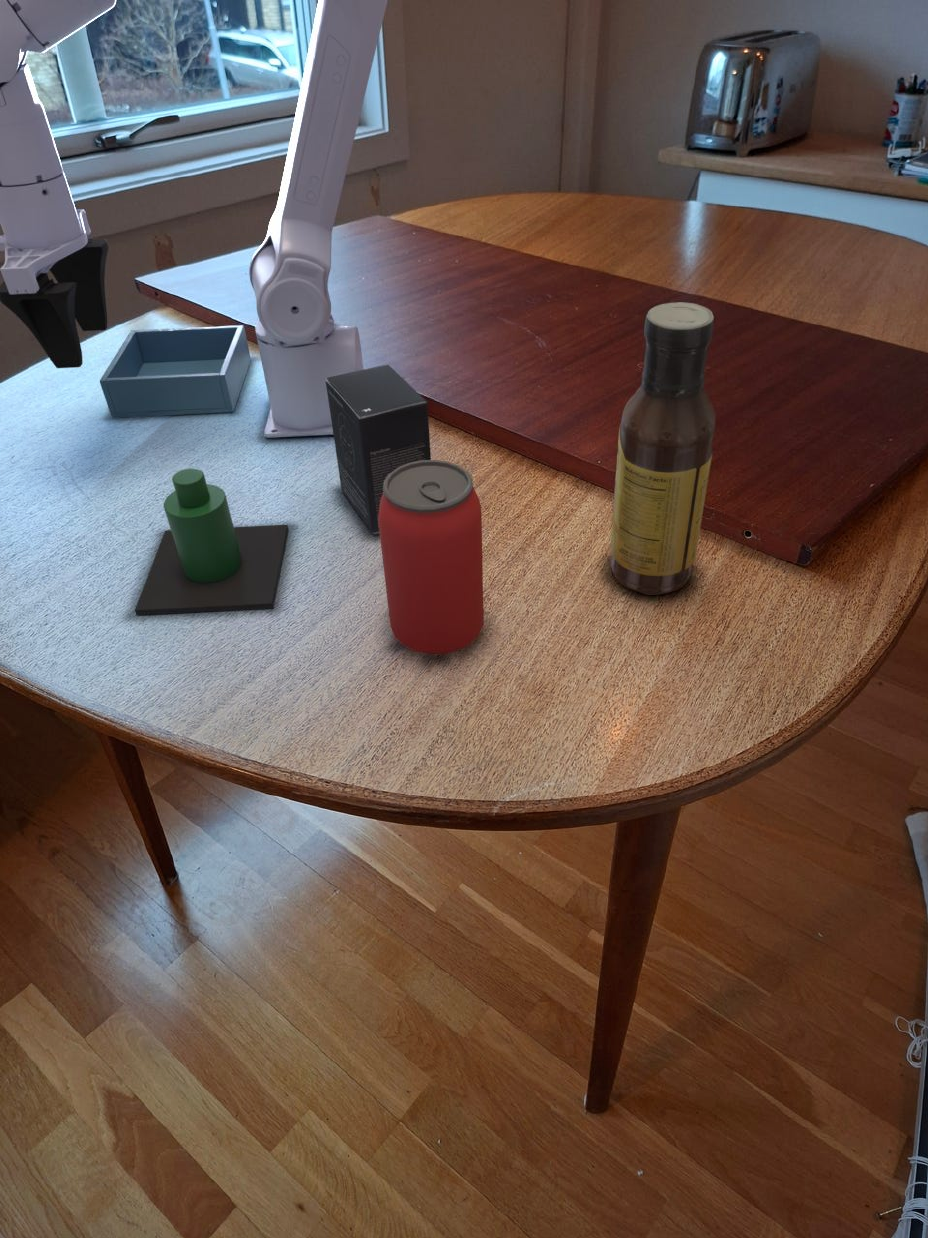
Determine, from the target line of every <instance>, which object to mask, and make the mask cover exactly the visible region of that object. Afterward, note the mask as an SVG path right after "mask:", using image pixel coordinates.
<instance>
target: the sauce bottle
mask: <svg viewBox="0 0 928 1238" xmlns="http://www.w3.org/2000/svg"><path fill="white" fill-rule="evenodd" d="M713 314H714V313H713V312H712V310H710V309H709V308H707V307H705V306H703V305H700V304H698V303H693V302H685V301H683V302H682V301H678V302H667V303H662V304H658V305H655V306H654V307H652V308H650V309H649V310H648V311H647V314H646V316H645V321H644V327H643V335H644V336H643V337H644V340H645V341H646V342H645V354H644V365H643V370H642V373H641V379H642V380H641V384H640V386H639V387H638V389H636V391H635V393H634V394H633V395H632V396H631V397H630V398H629V400H628V401H627V402H626V404H625V406H624V408H623V410H622V414H621V420H620V425H619V429H618V440H617V455H616V465H615V466H616V469H615V479H614V487H613V488H614V491H613V492H614V493H613V503H612V518H611V533H610V544H609V545H610V546H609V547H610V554H611V555H610V560H609V561H610V567H611V571H612V574H613V575H614V577H615V579H616V580H617V582H619V584H620V585H622V586H624V587H625V588H628V589H630V590H632V591H635V592H638V593H641V594H643V595H649V596H659V595H663V594H669V593H672V592H674V591H678V590H679V589H681V588H682V587H684V586H685V585H686V583H687V582H688V580H689V579H690V576H691V574H692V571H693V565H694V562H695V561H696V560H695V559H697V551H698V545H699V539H700V534H701V528H702V527H701V525H702V519H703V514H704V513H703V512H704V507H705V501H706V496H707V489H708V483H709V477H710V472H711V471H710V469H711V465H712V457H713V441H714V435H715V431H716V422H717V421H716V412H715V409H714V406H713V404H712V402H711V401H710V399H709V397H708V395H707V393H706V391H705V389H704V383H705V380H706V375H705V367H706V363H707V355H708V354H707V353H708V347H709V344H710V343H711V340H712V338H713V332H714V323H715V317H714V315H713Z"/></svg>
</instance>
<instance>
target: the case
mask: <svg viewBox="0 0 928 1238" xmlns="http://www.w3.org/2000/svg"><path fill="white" fill-rule="evenodd" d="M251 361H252V357H251V354H250V348H249V344H248V338H247V334H246V329H245V325H244V324H242V325H241V324H239V325H220V326H219V325H218V326H199V327H198V326H197V327H195V326H194V327H177V328H176V327H175V328H156V329H155V328H154V329H153V328H152V329H137V330H136V329H132V330H130V331H129V333H128V335H126V338H125V339H124V341H123V343H122V344H121V346H120V347H119V349H118V351H117V352H116V354H115V356H114V357H113V358H112V360H111V362H110V364H109V365H108V366H107V368H106V370H105V371H104V373H103V374H102V375H101V378H100V380H99V384H100V386H101V390H102V392H103V396H104V399H105V402H106V405H107V408H108V411H109V413H110V417H111V419H120V418H137V417H138V418H139V417H140V418H141V417H161V416H162V417H163V416H180V415H181V416H183V415H202V414H203V415H204V414H205V415H206V414H223V413H224V414H225V413H234V411H235V408H236V405H237V403H238V399H239V397H240V393H241V391H242V387H243V385H244V382H245V379H246V376H247V373H248V370H249V367H250V364H251Z"/></svg>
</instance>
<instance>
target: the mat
mask: <svg viewBox="0 0 928 1238" xmlns="http://www.w3.org/2000/svg"><path fill="white" fill-rule="evenodd" d="M234 530H235V534H236V538H237V542H238V546H239V549H240V553H241V557H242V564H241V566H240V568H239V569H238V571H237V572H236V573H234V574H233V575H232V576H230V577H228V578H226V579H224V580H221V581H217V582H212V583H200V582H196V581H193V580H191V579H189V578H188V577H187V576H186V575H185V573H184V570H183V566H182V563H181V560H180V557H179V554H178V551H177V547H176V544H175V541H174V538H173V535H172V532H171V529H170V530H167V529H166V530H164V532H163V535H162V537H161V541H160V543H159V546H158V548H157V551H156V554H155V557H154V559H153V562H152V564H151V567H150V570H149V572H148V574H147V578H146V580H145V582H144V585H143V587H142V590H141V593H140V595H139V598H138V601H137V603H136V606H135V608H134V612H135V615H136V616H145V615H166V614H185V613H186V614H187V613H203V612H205V613H206V612H223V611H225V612H227V611H245V610H263V609H265V610H266V609H267V610H268V609H274V605H275V601H276V595H277V590H278V585H279V579H280V574H281V569H282V564H283V560H284V559H283V558H284V554H285V550H286V544H287V543H286V542H287V538H288V533H289V525H288V524H271V525H269V524H268V525H251V526H234Z"/></svg>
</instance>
